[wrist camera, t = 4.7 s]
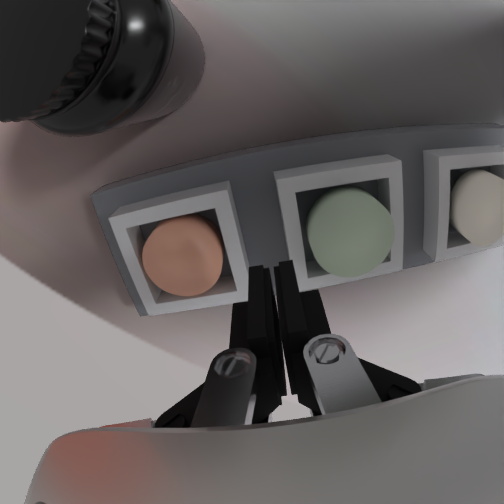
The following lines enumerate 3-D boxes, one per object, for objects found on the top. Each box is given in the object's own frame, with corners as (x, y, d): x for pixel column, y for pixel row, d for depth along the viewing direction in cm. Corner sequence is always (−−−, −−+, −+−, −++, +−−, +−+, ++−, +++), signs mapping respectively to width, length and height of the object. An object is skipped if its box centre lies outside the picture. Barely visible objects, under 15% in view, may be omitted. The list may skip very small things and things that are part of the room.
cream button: (498, 166, 15) (516, 174, 13) (493, 228, 17) (509, 240, 15) (448, 171, 15) (465, 180, 14) (446, 239, 17) (460, 252, 16)
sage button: (380, 180, 16) (393, 190, 14) (382, 253, 18) (393, 268, 16) (300, 193, 16) (305, 204, 14) (310, 267, 18) (316, 284, 16)
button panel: (495, 123, 17) (529, 133, 13) (490, 233, 21) (518, 254, 17) (103, 185, 19) (76, 205, 15) (147, 299, 23) (133, 333, 19)
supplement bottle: (202, 4, 14) (142, -105, 3) (210, 111, 17) (149, 132, 6) (94, 29, 14) (-46, -5, 3) (102, 128, 17) (-40, 183, 6)
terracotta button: (213, 204, 17) (210, 216, 16) (231, 272, 19) (230, 289, 18) (140, 221, 18) (130, 233, 16) (164, 284, 20) (158, 301, 18)
